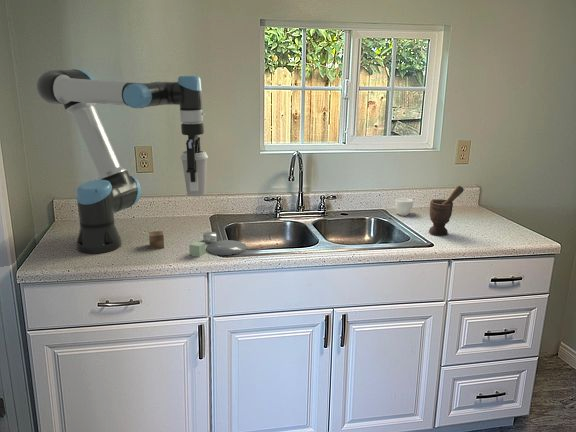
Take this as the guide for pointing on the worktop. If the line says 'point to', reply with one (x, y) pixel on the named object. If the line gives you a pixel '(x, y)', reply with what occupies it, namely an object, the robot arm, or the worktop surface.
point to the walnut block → (156, 239)
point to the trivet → (226, 247)
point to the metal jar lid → (209, 237)
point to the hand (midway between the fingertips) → (196, 187)
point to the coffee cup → (201, 172)
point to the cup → (403, 206)
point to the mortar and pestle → (442, 212)
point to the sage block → (197, 249)
